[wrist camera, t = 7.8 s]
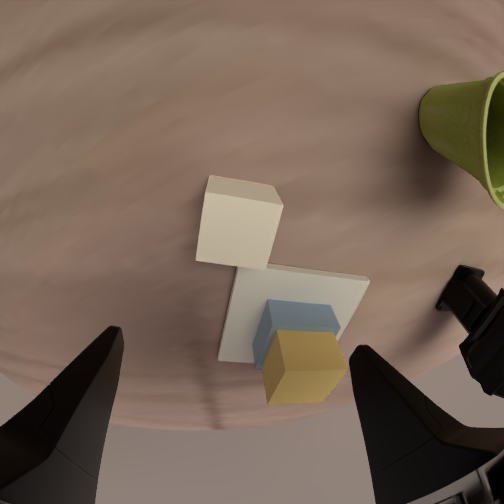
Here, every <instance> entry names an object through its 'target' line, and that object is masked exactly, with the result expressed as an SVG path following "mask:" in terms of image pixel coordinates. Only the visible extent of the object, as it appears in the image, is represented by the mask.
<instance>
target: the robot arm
mask: <svg viewBox="0 0 504 504" xmlns="http://www.w3.org/2000/svg"><path fill="white" fill-rule="evenodd" d="M484 273H485V272H484V271H483V270H481V269H477V268H473V267H469V266H464V265H460V266H459V268H458V269H457V271H456V273H455V275H454V277H453V279H452V280H451V282H450V284H449V286H448V287H447V289H446V291H445V293H444V294H443V296H442V298H441V299H440V301H439V302H438V304H437V306H436V309H437V311H451V312H452V313H453V314H454V315H455V317H456V318H457V319H458V321H459V322H460V323H461V325H462V326H463V327H464V329H465V330H466V331H467V333H468V334H469V335H468V336H467V338H466V339H465V340H464V341H463V342H462V343H461V344H460V345H459V348H460V350H461V354H462V356H463V358H464V361H465V363H466V365H467V368H468V370H469V373H470V375H471V377H472V378H473V379H475V380H476V381H478V382H479V383H480V384H481V386H482V389H483V391H484V392H485V393H486V394H488V395H490V396H491V395H493V394H494V395H496V396H499V397H502V398H504V289H503V288H501V289H500V291H499V294H498V295H496V294H495V293H494V292H493V291H492V290H491V289H490V287H489V286H488V285H487V284H486V283H485V282H484V281H483V280H482V277H483V276H484ZM123 350H124V340H123V334H122V329H121V328H120V327H116V326H109V327H108V328H107V329H106V330H105V331H104V332H102V333H101V334H100V335H99V336H98V337H97V338H96V339H95V340H94V341H93V342H92V343H91V344H90V345H89V346H88V347H87V348H86V349H85V350H83V351H82V352H81V353H80V354H79V355H78V356H77V357H76V358H75V359H74V360H73V361H72V362H71V363H70V364H69V365H68V366H67V367H66V368H65V369H64V370H63V371H62V372H61V373H60V374H59V375H58V376H57V377H56V378H55V379H54V380H53V381H52V382H51V383H50V385H48V386H47V387H46V388H45V389H44V390H43V391H42V392H41V393H40V394H39V395H38V396H37V397H36V398H35V399H34V400H33V401H31V402H30V403H29V404H28V405H27V406H26V407H24V408H23V409H22V410H21V411H20V412H18V413H17V414H16V415H15V416H13V417H12V418H11V419H10V420H8V421H7V422H6V423H5V424H3V425H2V426H0V504H95V497H96V490H97V483H98V475H99V469H100V463H101V458H102V452H103V447H104V442H105V437H106V433H107V428H108V423H109V419H110V415H111V411H112V406H113V402H114V398H115V395H116V391H117V386H118V381H119V375H120V368H121V362H122V356H123ZM349 366H350V373H351V379H352V386H353V393H354V398H355V402H356V406H357V410H358V414H359V419H360V423H361V428H362V432H363V436H364V441H365V446H366V451H367V456H368V461H369V466H370V472H371V477H372V483H373V489H374V495H375V502H376V504H407V503H409V504H504V428H475V427H468V426H465V425H463V424H462V423H460V422H459V421H457V420H456V419H455V418H453V417H452V416H451V415H449V414H448V413H446V412H445V411H444V410H442V409H441V408H440V407H439V406H437V405H436V404H435V403H434V402H433V401H431V400H430V399H429V398H428V397H427V396H426V395H424V394H423V393H422V392H421V391H420V390H419V389H418V388H416V387H415V386H414V385H413V384H412V383H411V382H410V381H409V380H407V379H406V378H405V377H404V376H403V375H402V374H401V373H399V372H398V371H397V370H396V369H395V368H394V367H393V366H391V365H390V364H389V363H388V362H387V361H386V360H385V359H383V358H382V357H381V356H380V355H379V354H378V353H377V352H375V351H374V350H373V349H372V348H371V347H370V346H368V345H358V346H357V347H356V349H355V350H354V352H353V353H352V355H351V356H350V359H349Z"/></svg>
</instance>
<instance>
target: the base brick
mask: <svg viewBox="0 0 504 504" xmlns="http://www.w3.org/2000/svg"><path fill="white" fill-rule="evenodd" d="M340 329H341V327H340V325H339V322H338V320H337V318H336V316H335V314H334V311H333V309H332V307H331V305H325V304H313V303H302V302H291V301H281V300H272V299H267V302H266V305H265V308H264V311H263V314H262V317H261V320H260V323H259V326H258V329H257V332H256V335H255V338H254V341H253V344H252V347H253V356H254V364H255V369H259V370H262V366H263V364H264V361H265V359H266V356H267V354H268V351H269V349H270V346H271V344H272V341H273V339H274V336H275V334H276V331H277V330H287V331H306V332H333V333H334V335H335V337H336V336H337V334H338V332H339V330H340Z"/></svg>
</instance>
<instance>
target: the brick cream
mask: <svg viewBox="0 0 504 504" xmlns="http://www.w3.org/2000/svg"><path fill="white" fill-rule="evenodd" d="M283 206H284V205H283V203H282V201H281V199H280V198H279V196H278V194H277V192H276V190H275V188H274V187H273V186H270V185H265V184H260V183H254V182H249V181H243V180H238V179H232V178H226V177H220V176H213V175H209V179H208V183H207V187H206V192H205V198H204V204H203V210H202V217H201V224H200V231H199V238H198V246H197V253H196V261H202V262H209V263H216V264H223V265H230V266H238V267H245V268H253V269H260V270H266V267H267V263H268V260H269V256H270V253H271V249H272V246H273V242H274V239H275V235H276V232H277V228H278V224H279V221H280V217H281V214H282V210H283Z"/></svg>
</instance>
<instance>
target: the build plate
mask: <svg viewBox="0 0 504 504" xmlns="http://www.w3.org/2000/svg"><path fill="white" fill-rule="evenodd" d="M369 283H370V280H369V279H368V277H366V276H358V275H351V274H343V273H336V272H328V271H321V270H313V269H306V268H299V267H291V266H284V265H277V264H270V263H267V267H266V270H260V269H253V268H245V267H238V266H237V269H236V273H235V278H234V282H233V287H232V291H231V296H230V300H229V305H228V309H227V314H226V319H225V323H224V328H223V332H222V337H221V342H220V346H219V351H218V361H228V362H241V363H254V356H253V347H252V344H253V341H254V338H255V335H256V332H257V329H258V326H259V323H260V320H261V317H262V314H263V311H264V308H265V305H266V302H267V299H272V300H281V301H291V302H302V303H313V304H325V305H331V307H332V309H333V311H334V314H335V316H336V318H337V320H338V322H339V325H340V327H341V329H340V330H339V332H338V334H337V336H336V337H335V338H336V340H337V342H338V340H339V338H340V337H341V335H342V333H343V331H344V330H345V328H346V326H347V325H348V323H349V321H350V319H351V317H352V316H353V314H354V312H355V310H356V308H357V306H358V305H359V303H360V301H361V299H362V297H363V295H364V293H365V291H366V289H367V287H368V285H369Z"/></svg>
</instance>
